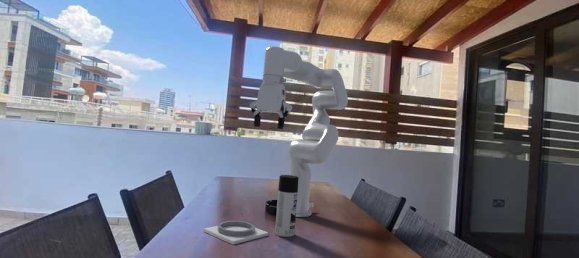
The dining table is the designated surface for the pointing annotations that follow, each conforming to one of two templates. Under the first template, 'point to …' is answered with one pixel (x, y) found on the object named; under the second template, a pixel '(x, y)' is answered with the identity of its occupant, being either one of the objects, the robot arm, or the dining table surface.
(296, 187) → the spray can
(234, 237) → the collar plate
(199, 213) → the dining table surface
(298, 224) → the dining table surface
